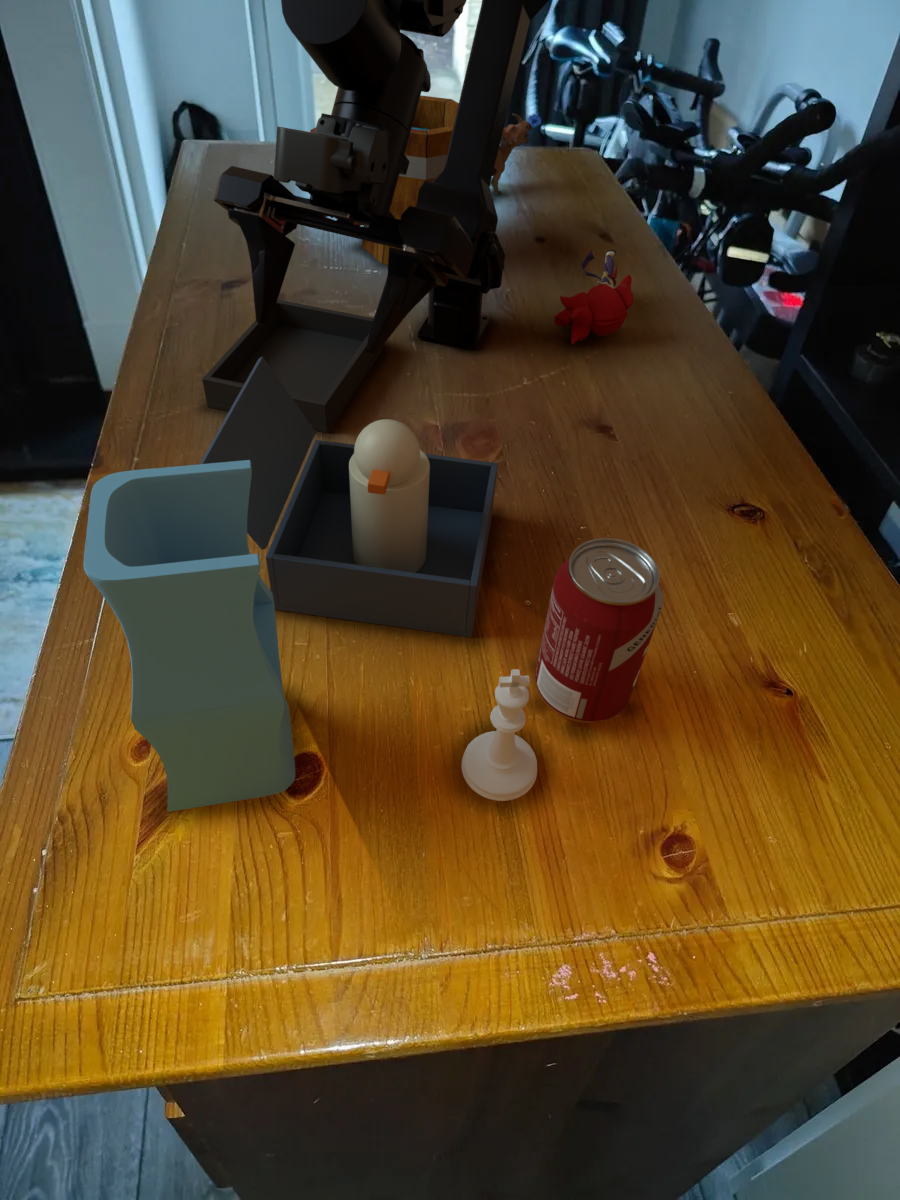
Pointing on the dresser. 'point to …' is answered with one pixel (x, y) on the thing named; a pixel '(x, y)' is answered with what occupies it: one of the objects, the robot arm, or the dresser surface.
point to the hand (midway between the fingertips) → (314, 338)
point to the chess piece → (503, 747)
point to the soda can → (598, 629)
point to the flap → (264, 446)
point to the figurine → (597, 304)
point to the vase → (194, 628)
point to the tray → (299, 360)
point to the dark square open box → (375, 595)
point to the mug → (419, 159)
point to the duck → (389, 497)
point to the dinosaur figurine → (509, 147)
